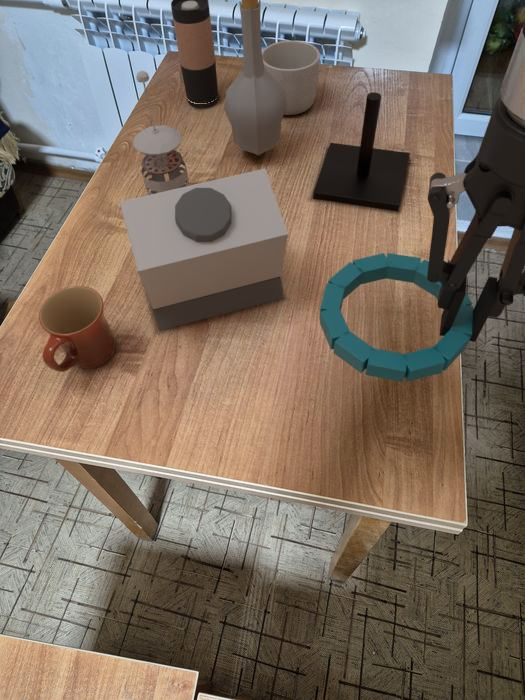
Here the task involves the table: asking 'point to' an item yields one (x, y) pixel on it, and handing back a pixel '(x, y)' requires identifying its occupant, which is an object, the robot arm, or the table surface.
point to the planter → (294, 72)
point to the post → (363, 169)
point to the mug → (76, 329)
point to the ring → (382, 360)
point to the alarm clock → (208, 247)
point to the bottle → (254, 91)
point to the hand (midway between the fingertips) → (458, 327)
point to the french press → (160, 154)
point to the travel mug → (196, 50)
